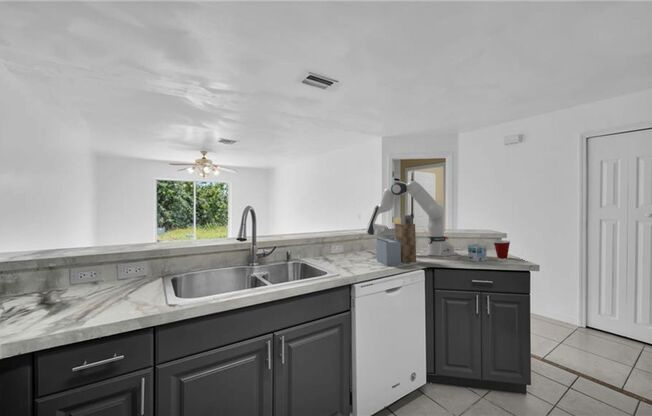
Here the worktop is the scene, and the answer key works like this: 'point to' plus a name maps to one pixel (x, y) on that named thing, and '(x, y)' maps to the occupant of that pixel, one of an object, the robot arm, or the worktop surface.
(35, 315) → the worktop surface
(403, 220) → the ochre bar
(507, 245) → the plastic cup
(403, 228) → the walnut post
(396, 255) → the slate ledge
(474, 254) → the light bulb box
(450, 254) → the robot arm
